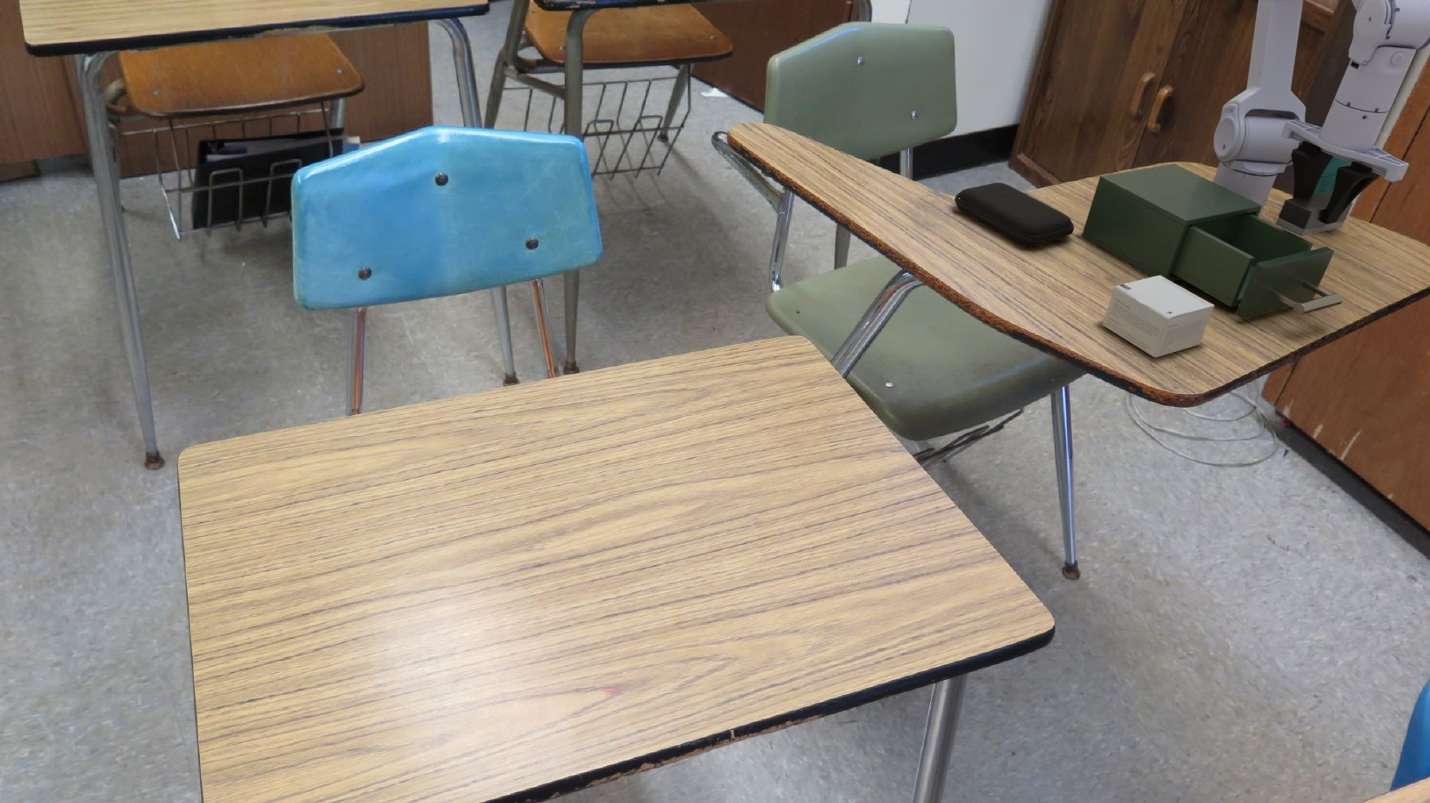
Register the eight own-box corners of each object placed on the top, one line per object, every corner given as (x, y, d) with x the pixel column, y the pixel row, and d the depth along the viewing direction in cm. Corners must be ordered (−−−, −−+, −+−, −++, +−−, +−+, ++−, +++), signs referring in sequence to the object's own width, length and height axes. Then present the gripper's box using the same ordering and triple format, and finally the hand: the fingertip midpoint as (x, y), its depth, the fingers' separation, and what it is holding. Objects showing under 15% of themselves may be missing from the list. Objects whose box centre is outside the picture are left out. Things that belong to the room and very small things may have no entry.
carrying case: (1083, 239, 141) (1001, 195, 150) (1089, 217, 139) (1006, 175, 149) (1026, 254, 135) (945, 208, 145) (1032, 231, 134) (950, 186, 143)
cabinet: (1238, 266, 138) (1262, 205, 133) (1163, 283, 132) (1186, 220, 127) (1154, 221, 148) (1174, 163, 143) (1081, 236, 141) (1099, 175, 137)
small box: (1201, 345, 119) (1217, 305, 117) (1153, 359, 116) (1168, 318, 113) (1146, 312, 125) (1161, 273, 122) (1099, 325, 121) (1112, 285, 118)
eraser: (1316, 215, 133) (1326, 191, 131) (1342, 227, 131) (1353, 202, 129) (1275, 224, 129) (1285, 199, 128) (1301, 236, 127) (1311, 211, 125)
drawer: (1347, 319, 126) (1372, 268, 122) (1278, 339, 120) (1301, 286, 117) (1224, 254, 138) (1243, 206, 135) (1156, 269, 133) (1174, 220, 129)
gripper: (1443, 122, 118) (1389, 235, 126) (1326, 80, 128) (1282, 187, 136) (1406, 129, 115) (1353, 244, 123) (1289, 85, 125) (1246, 194, 133)
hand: (1313, 215), depth 129 cm, fingers closed on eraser, 3 cm apart
